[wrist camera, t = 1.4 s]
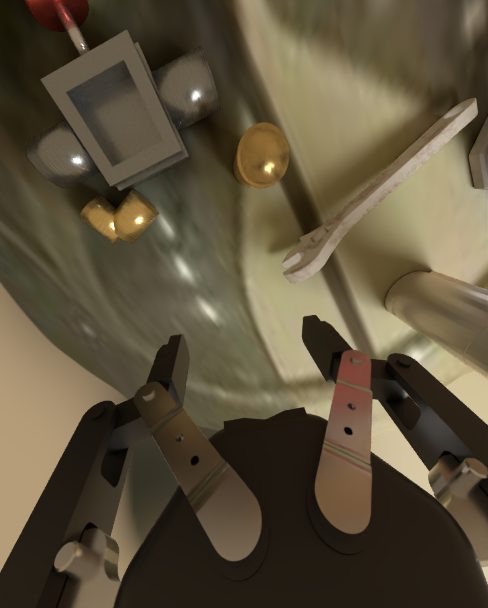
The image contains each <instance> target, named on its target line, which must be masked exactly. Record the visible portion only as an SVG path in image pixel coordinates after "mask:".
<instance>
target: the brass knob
mask: <svg viewBox="0 0 488 608" xmlns="http://www.w3.org/2000/svg"><path fill="white" fill-rule="evenodd" d="M288 163H289V146H288V142H287V140H286V137H285V136H284V134H283V133H282V131H281V130H280V129H279V128H278V127H276V126H275V125H273V124H270V123H258V124H255V125H253V126H252V127H250V128H249V129H248V130H247V131H246V132H245V133H244V135H243V136H242V138H241V140H240V142H239V145H238V148H237V153H236V156H235V158H234V162H233V171H234V175H235V177H236V179H237V180H238V182H239V183H241V184H242V185H244V186H246V187H255V188H267V187H270V186H272V185H274V184H276V183H277V182H278V181H279V180H280V179H281V178H282V177H283V175H284V173H285V171H286V169H287V166H288Z"/></svg>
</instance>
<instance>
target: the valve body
mask: <svg viewBox="0 0 488 608" xmlns="http://www.w3.org/2000/svg"><path fill="white" fill-rule="evenodd" d="M24 1H25V3H26V4H27V6H28V8H29V9H30V11H31V13H32V14H33V16H34V18H35V19H36V20H37V21H38V22H39V23H40V24H41V25H42V26H44V27H46V28H48V29H50V30H53V31H58V32H67V33H68V34H69V36H70V38H71V40H72V42H73V43H74V45H75V47H76V49H77V51H78V52H79V54H80V57H78V58H77V59H75V60H73V61H72V62H70V63H68V64H66V65H65V66H63V67H61V68H59V69H58V70H56V71H54V72H52V73H51V74H49V75H47V76H46V77H44V78H42V79H40V80H41V81H42V83H43V84H44V86H45V87H46V89H47V90H48V92H49V93H50V95H51V97H52V98H53V100H54V101H55V103H56V104H57V106H58V107H59V109H60V110H61V112H62V113H63V115H64V116H65V118H66V120H64V121H62V122H60V123H59V124H57V125H55V126H53V127H51V128H50V129H48V130H46V131H44V132H42V133H40V134H39V135H37V136H35V137H33V138H31V139H30V140H28V141H26V142H25V143H24V144H23V147H24V150H25V153H26V155H27V156H28V158H29V159H30V161H31V162H32V164H33V165H34V166H35V167H36V168H37V169H38V170H39V171H40V172H41V173H42V174H43V175H44V176H45V177H46V178H47V179H48V180H50V181H51V182H52V183H54V184H56V185H57V186H59V187H62V188H69V187H71V186H73V185H75V184H77V183H79V182H81V181H83V180H85V179H87V178H88V177H90V176H92V175H94V174H96V173H98V172H100V171H101V173H102V174H103V176H104V177H105V179H106V180H107V182H108V183H109V185H110V186H113V187H117V188H118V190H119V191H127V190H129V189H131V188H133V187H135V186H137V185H139V184H141V183H143V182H145V181H147V180H149V179H151V178H153V177H155V176H157V175H159V174H161V173H163V172H165V171H167V170H169V169H171V168H173V167H175V166H177V165H179V164H181V163H183V162H185V161H187V160H189V159H190V156H189V154H188V152H187V150H186V147H185V145H184V143H183V141H182V138H181V136H180V134H179V132H178V131H179V130H181V129H183V128H185V127H187V126H189V125H191V124H193V123H195V122H197V121H199V120H201V119H203V118H205V117H206V116H208V115H210V114H212V113H214V112H216V111H218V110H220V103H219V98H218V94H217V90H216V86H215V83H214V80H213V76H212V73H211V70H210V67H209V64H208V61H207V59H206V56H205V54H204V51H203V49H202V47H201V46H198V47H197V48H195V49H193V50H191V51H189V52H188V53H186V54H184V55H182V56H180V57H179V58H177V59H175V60H173V61H171V62H169V63H168V64H166V65H164V66H162V67H160V68H159V69H157V70H155V71H153V72H152V71H151V69H150V66H149V64H148V62H147V60H146V57H145V55H144V53H143V51H142V49H141V47H140V45H139V43H138V42H136V43H135V44H134V42H133V40H132V38H131V36H130V34H129V33H128V31H127V30H125V31H124V32H122V33H120V34H118V35H117V36H115V37H113V38H111V39H110V40H108V41H106V42H104V43H103V44H101V45H99V46H98V47H96V48H94V49H92V50H90V48H89V46H88V45H87V43H86V41H85V39H84V37H83V35H82V33H81V32H80V30H79V28H78V27H79V26H81V25H82V24H83V23H84V21H85V20H86V18H87V16H88V11H89V6H88V1H87V0H24Z"/></svg>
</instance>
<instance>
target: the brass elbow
mask: <svg viewBox="0 0 488 608" xmlns="http://www.w3.org/2000/svg"><path fill="white" fill-rule="evenodd" d="M158 214H159V212H158V210H157V209H156V208H155V207H154V205H153V204H152V203H151V202H150V201H148V200H147V199H146V198H145V197H144V196H142V195H141V194H140V193H138V192H137V191H135V190H131V191H130V193H129V194H128V195H127V196H126V198H125V199H124V200H123V202H122V203H121V204H120V205H119V207H118V208H117V209H116V208H115V207H114V206H112V205H111V204H110V203H109V202H108V201H107V200H105V199H104V198H103V197H102V196H99V197H96V198H95V199H93V200H92V201H90V202H89V203H88V204H87V205H86V206H85V207H84V209H83V210H82V212H81V214H80V218H81V219H82V220H83V221H85V222H86V223H87V224H89V225H90V226H91V227H92V228H94V229H95V230H96V231H98V232H99V233H100V234H102V235H103V236H104V237H105V238H107V239H108V240H109V241H111V242H112V243H113V244H114V243H116V242H118V241H119V240H120V239H123V240H125V241H127V242H130V243H134V242H135V241H136V240H137V239H138V238H139V237H140V235H141V234H142V233H143V232H144V231H145V230H146V228H147V227H148V226H149V225H150V224H151V222H152V221H153V220H154V219H155V218H156V217H157V215H158Z"/></svg>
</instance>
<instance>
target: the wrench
mask: <svg viewBox="0 0 488 608" xmlns="http://www.w3.org/2000/svg"><path fill="white" fill-rule="evenodd" d="M477 114H478V109H477V101H476V98H471V99H468V100H466V101H464V102H462V103H460V104H458V105H457V106H455V107H453V108H452V109H451V110H450V111H448V112H447V113H446V114H445V115H444V116H442V117H441V118H440V119H439V120H438V121H437V122H436V123H435V124H434V125H432V126H431V127H430V128H429V129H428V130H427V131H426V132H425V133H424V134H423V135H422V136H421V137H420V138H419V139H417V140H416V141H415V142H414V143H413V144H412V145H411V146H410V147H409V148H408V149H407V150H406V151H405V152H403V153H402V154H401V155H400V156H399V157H398V158H397V159H396V160H395V161H394V162H393V163H391V164H390V165H389V166H388V167H387V168H386V169H385V170H384V171H383V172H382V173H381V174H380V175H379V176H377V177H376V178H375V179H374V180H373V181H372V182H371V183H370V184H369V185H368V186H367V187H366V188H364V189H363V190H362V191H361V192H360V193H359V194H358V195H357V196H356V197H355V198H354V199H353V200H352V201H350V202H349V203H348V204H347V205H346V206H345V207H344V208H343V209H342V210H340V211H339V212H338V213H337V214H336V215H335V216H334V217H333V218H331V219H330V220H329V221H327V222H326V223H324V224H323V225H322V226H320V227H318V228H317V229H315V230H313V231H312V232H310V233H309V234H306V235H304V236H302V237H300V241H301V242H300V243H299V244H298V245H296V246H295V247H294V248H293V249H292V250H291V251H290V253H289V254H288V255H287V256H286V257H285V259H284V260H283V262H282V265H283V267H284V268H288V267H290V266H292V265H294V264H295V263H297V262H298V261H299V260H301V259H302V260H301V262H299V263H298V264H296V265H295V266H293V267H291V268H290V269H288V270H287V271H285V272H283V274H284V276H285V277H286V278H287V279H288V281H289V282H290V283H296V282H300V281H303V280H305V279H307V278H309V277H311V276H312V275H314V274H315V273H316V272H318V271H319V270H320V269H321V268H322V267H323V266H324V265H325V263H326V261H327V260H328V258H329V257H330V255H331V254H332V252H333V251H334V249H335V247H336V246H337V245H338V243H339V242H340V241H341V240H342V238H343V237H344V236H345V234H346V233H347V232H348V231H349V229H350V228H351V227H352V226H353V225H354V224H356V223H357V222H358V221H359V220H360V219H361V218H362V217H363V216H365V215H366V214H367V213H368V212H369V211H370V210H371V209H372V208H374V207H375V206H376V205H377V204H378V203H379V202H380V201H381V200H383V199H384V198H385V197H386V196H387V195H388V194H389V193H390V192H392V191H393V190H394V189H395V188H396V187H397V186H398V185H399V184H401V183H402V182H403V181H404V180H405V179H406V178H407V177H408V176H410V175H411V174H412V173H413V172H414V171H415V170H416V169H417V168H419V167H420V166H421V165H422V164H423V163H424V162H425V161H426V160H428V159H429V158H430V157H431V156H432V155H433V154H434V153H435V152H437V151H438V150H439V149H440V148H441V147H442V146H443V145H444V144H446V143H447V142H448V141H449V140H450V139H451V138H452V137H453V136H455V135H456V134H457V133H458V132H459V131H460V130H461V129H462V128H464V127H465V126H466V125H467V124H468V123H469V122H470V121H471V120H473V119H474V118H475V117H476V116H477Z"/></svg>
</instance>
